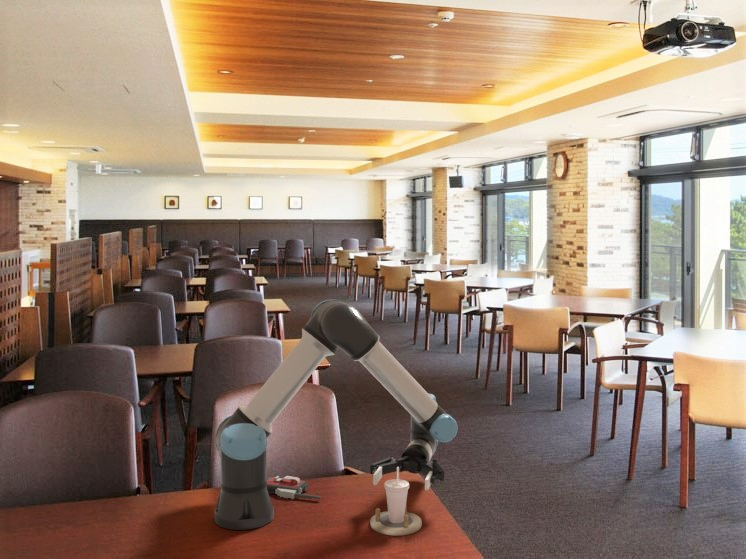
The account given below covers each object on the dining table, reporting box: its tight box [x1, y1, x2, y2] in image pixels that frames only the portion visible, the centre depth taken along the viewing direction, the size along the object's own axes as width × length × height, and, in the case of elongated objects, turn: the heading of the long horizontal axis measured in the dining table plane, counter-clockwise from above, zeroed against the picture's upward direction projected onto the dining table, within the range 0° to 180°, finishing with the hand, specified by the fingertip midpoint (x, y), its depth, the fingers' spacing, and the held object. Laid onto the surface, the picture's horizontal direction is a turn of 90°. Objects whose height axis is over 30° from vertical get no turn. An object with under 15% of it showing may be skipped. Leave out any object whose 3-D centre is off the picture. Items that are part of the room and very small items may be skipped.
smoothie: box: [383, 467, 410, 523], centre depth 180 cm, size 6×6×14 cm
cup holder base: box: [369, 502, 423, 537], centre depth 181 cm, size 13×13×4 cm
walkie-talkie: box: [267, 475, 322, 500], centre depth 202 cm, size 9×4×20 cm
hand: (400, 482), depth 182 cm, fingers open, 13 cm apart
